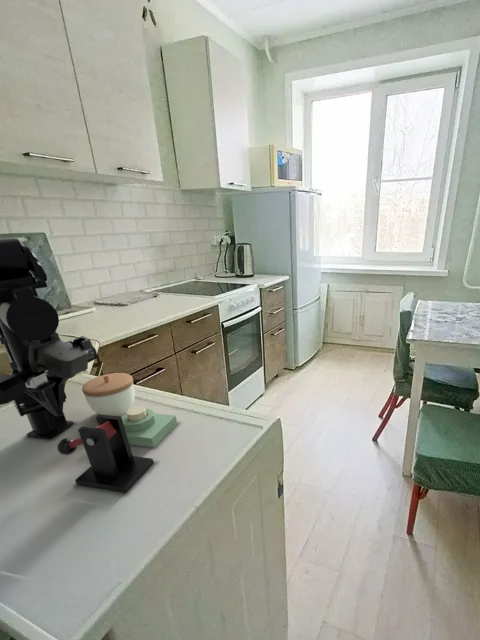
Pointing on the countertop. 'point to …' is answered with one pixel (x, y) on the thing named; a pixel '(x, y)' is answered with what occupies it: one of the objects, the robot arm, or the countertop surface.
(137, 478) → the lever stand
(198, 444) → the countertop surface
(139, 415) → the timer button
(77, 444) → the red lever
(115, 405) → the trinket box
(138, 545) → the countertop surface
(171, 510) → the countertop surface
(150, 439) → the green button pad
